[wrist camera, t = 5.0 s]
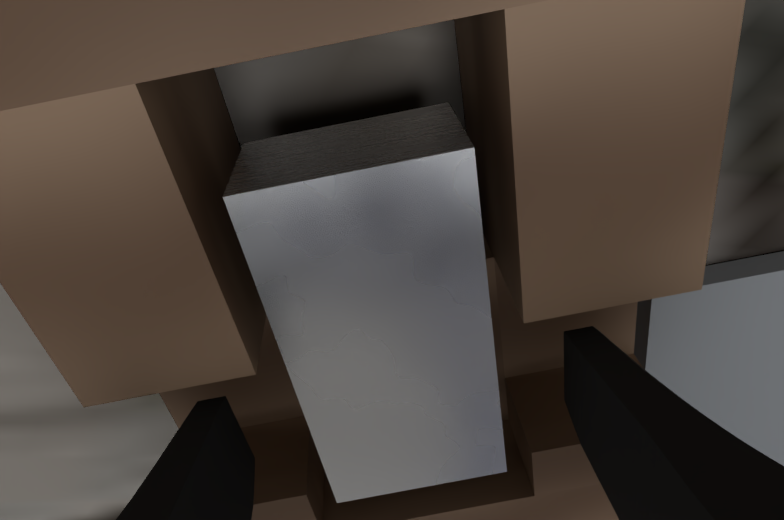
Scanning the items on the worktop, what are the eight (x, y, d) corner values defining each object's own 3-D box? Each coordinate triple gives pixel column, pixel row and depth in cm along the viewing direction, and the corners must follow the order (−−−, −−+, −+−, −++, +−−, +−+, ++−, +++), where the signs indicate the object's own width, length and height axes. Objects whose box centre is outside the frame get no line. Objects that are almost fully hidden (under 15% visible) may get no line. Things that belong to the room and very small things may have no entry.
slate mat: (781, 464, 21) (796, 483, 20) (622, 493, 21) (632, 513, 21) (851, 238, 16) (874, 253, 15) (638, 278, 16) (652, 295, 15)
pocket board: (598, 415, 19) (664, 540, 15) (247, 481, 19) (226, 620, 15) (622, -247, 10) (796, -339, 6) (-44, -106, 10) (-265, -113, 6)
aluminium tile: (483, 395, 15) (506, 471, 13) (336, 423, 15) (337, 503, 13) (448, 102, 11) (473, 147, 9) (243, 142, 11) (222, 197, 9)
